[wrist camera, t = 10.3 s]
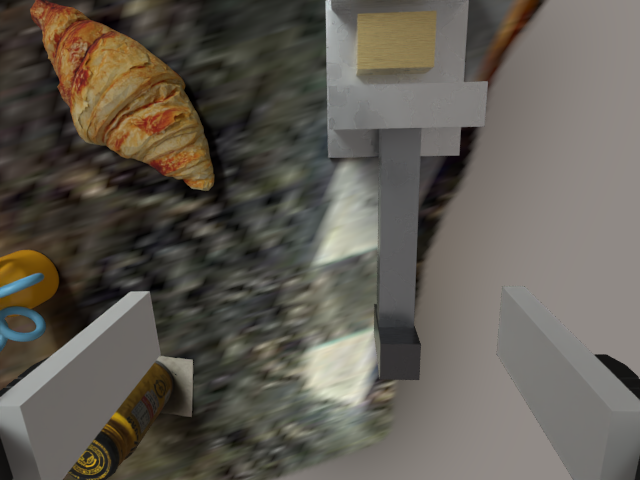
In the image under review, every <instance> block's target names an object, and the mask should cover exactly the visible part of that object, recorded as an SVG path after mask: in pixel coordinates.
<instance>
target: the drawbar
mask: <svg viewBox="0 0 640 480" xmlns="http://www.w3.org/2000/svg"><path fill="white" fill-rule="evenodd" d="M421 129H422V128H390V129H379V192H378V261H377V304H374V338H375V346H376V353H377V361H378V369H379V377H380V379H396V380H419V372H420V350H421V344H420V341H419V338H418V335H417V332H416V329H415V326H414V310H415V284H416V258H417V232H418V206H419V180H420V154H421Z"/></svg>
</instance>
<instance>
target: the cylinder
mask: <svg viewBox="0 0 640 480" xmlns="http://www.w3.org/2000/svg"><path fill="white" fill-rule="evenodd" d="M58 285H59V276H58V272H57V269H56V267H55V266H54V264H53V263H52V262H51V260H50V259H49V258H47V257H46V256H45V255H43V254H41V253H39V252H37V251H33V250H20V251H17V252H14V253H11V254H9V255H6V256H3V257H0V352H1V351H2V349H3V348H4V346H5V344H6V342H7V340H8V339H10V340H14V341H21V342H25V341H32V340H35V339H37V338H39V337H40V336H41V335H42V334H43V333H44V332H45V329H46V323H45V320H44V319H43V317H42V316H41V315H40V314H39V313H37V312H36V311H34V310H32V309H33V308H34V307H36V306H38V305H40V304H41V303H43V302H45V301H47V300H48V299H50V298H51V297H52V296H53V295H54V294H55V293H56V291H57V289H58ZM19 315H23V316H26V317H28V318H30V319H32V320H33V321H34V322H35V324H36V329H35V330H34V331H33V332H30V333H20V332H16V331H13V330H11V329H9V328H8V324H7V322H6V320H5V319H4V318H5V317H15V316H19Z"/></svg>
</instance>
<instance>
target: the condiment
mask: <svg viewBox="0 0 640 480" xmlns="http://www.w3.org/2000/svg"><path fill="white" fill-rule="evenodd" d="M172 371H173V372H174V373H176V374H177V376H176V375H175V374H174V373H172ZM192 397H193V360H190V359H182V358H172V357H164V356H159V357H158V359H157V360H156V361H155V363H154V364H153V365H152V366H151V368H150V369H149V370H148V371H147V373H146V374H145V375H144V376H143V378H142V379H141V380H140V382H139V383H138V384H137V385H136V387H135V388H134V389H133V390H132V392H131V393H130V394H129V396H128V397H127V398H126V399H125V401H124V402H123V403H122V404H121V406H120V407H119V408H118V410H117V411H116V412H115V413H114V415H113V416H112V417H111V418H110V420H109V421H108V422H107V423H106V425H105V426H104V427H103V429H102V430H101V431H100V432H99V434H98V435H97V436H96V437H95V439H94V440H93V441H92V443H91V444H90V445H89V446H88V448H87V449H86V450H85V451H84V453H83V454H82V455H81V457H80V458H79V459H78V460H77V462H76V463H75V464H74V465H73V467H72V468H71V469H70V470H69V472H68V473H69V474H70V475H71V476H73V477H74V478H76V479H78V480H106V479H107V478H108V477H110V476H111V475H113V474H114V473H115V471H116V469H117V467H118V466H119V465H120V464H121V463H122V462H123V460H126V459H127V458H128V457H129V456H130V455H131V454H132V453H133V452H134V451H135V449H136V448H137V446H138V445H139V443H140V442H141V440H142V439H143V437H144V436H145V434H146V433H147V431H148V430H149V428H150V427H151V425H152V424H153V422H154V421H155V419H156V418H157V416H158V415H159V413H167V414H175V415H180V416H188V417H192Z"/></svg>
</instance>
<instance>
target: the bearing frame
mask: <svg viewBox="0 0 640 480" xmlns="http://www.w3.org/2000/svg"><path fill="white" fill-rule="evenodd" d="M468 5H469V0H326V51H327V116H328V158H340V157H379V129H390V128H422V129H421V154H420V156H459V152H460V136H461V127H481V126H485V114H486V101H487V88H488V81H482V82H464V71H465V54H466V38H467V22H468ZM417 11H437V15H436V37H435V59H434V67H433V68H432V69H431V70H429V71H428V72H427V73H425V74H395V75H359V76H356V66H357V15H358V14H364V13H391V12H417Z"/></svg>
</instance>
